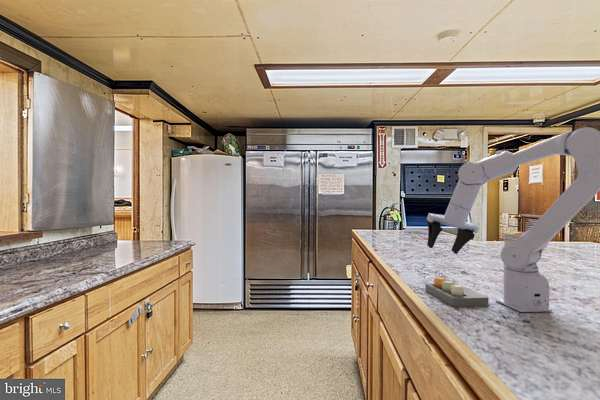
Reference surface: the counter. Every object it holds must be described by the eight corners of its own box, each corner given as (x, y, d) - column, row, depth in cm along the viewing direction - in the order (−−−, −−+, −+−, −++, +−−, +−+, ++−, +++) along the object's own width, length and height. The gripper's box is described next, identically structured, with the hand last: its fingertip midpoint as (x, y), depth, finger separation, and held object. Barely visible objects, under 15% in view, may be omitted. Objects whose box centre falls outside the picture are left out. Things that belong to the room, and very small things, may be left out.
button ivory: (466, 297, 92) (466, 287, 92) (454, 297, 91) (454, 287, 91) (459, 294, 95) (459, 284, 95) (448, 294, 94) (448, 285, 94)
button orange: (447, 288, 101) (448, 279, 101) (437, 288, 100) (437, 279, 100) (442, 285, 104) (442, 277, 104) (432, 286, 103) (432, 277, 103)
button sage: (456, 292, 96) (456, 283, 96) (445, 292, 96) (445, 283, 96) (450, 289, 99) (450, 280, 99) (440, 290, 99) (440, 281, 99)
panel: (488, 305, 90) (488, 297, 90) (453, 306, 89) (453, 298, 89) (455, 290, 105) (455, 283, 105) (425, 291, 104) (425, 283, 104)
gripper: (476, 206, 106) (458, 248, 110) (430, 194, 105) (413, 238, 108) (490, 215, 100) (470, 259, 104) (440, 202, 98) (422, 248, 102)
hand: (441, 249), depth 106 cm, fingers open, 7 cm apart
